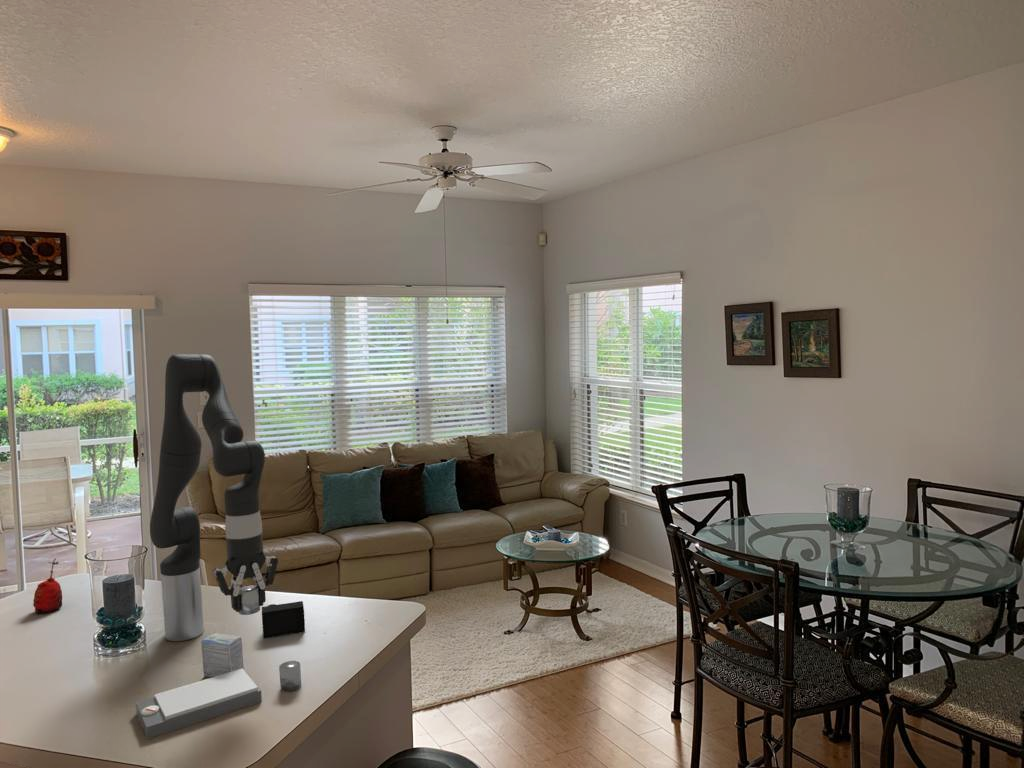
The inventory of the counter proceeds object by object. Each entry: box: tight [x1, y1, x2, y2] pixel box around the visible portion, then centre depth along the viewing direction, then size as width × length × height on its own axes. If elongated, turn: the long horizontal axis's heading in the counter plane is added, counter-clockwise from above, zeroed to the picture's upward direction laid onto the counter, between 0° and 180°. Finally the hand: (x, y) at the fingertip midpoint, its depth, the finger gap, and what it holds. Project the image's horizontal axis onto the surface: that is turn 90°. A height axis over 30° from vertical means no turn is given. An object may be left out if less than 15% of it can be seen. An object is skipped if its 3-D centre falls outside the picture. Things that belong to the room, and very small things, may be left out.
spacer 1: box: [238, 585, 261, 616], centre depth 160 cm, size 4×4×5 cm
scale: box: [135, 668, 263, 740], centre depth 152 cm, size 12×22×3 cm, turn 126°
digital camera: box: [261, 600, 306, 640], centre depth 189 cm, size 10×5×7 cm, turn 109°
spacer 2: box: [278, 660, 302, 693], centre depth 159 cm, size 4×4×5 cm
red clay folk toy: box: [32, 558, 63, 615], centre depth 209 cm, size 8×7×15 cm
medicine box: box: [201, 632, 245, 678], centre depth 166 cm, size 8×4×9 cm, turn 71°
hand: (248, 607), depth 160 cm, fingers closed on spacer 1, 4 cm apart
